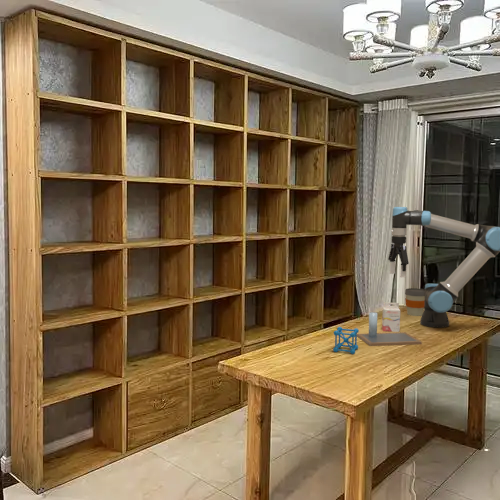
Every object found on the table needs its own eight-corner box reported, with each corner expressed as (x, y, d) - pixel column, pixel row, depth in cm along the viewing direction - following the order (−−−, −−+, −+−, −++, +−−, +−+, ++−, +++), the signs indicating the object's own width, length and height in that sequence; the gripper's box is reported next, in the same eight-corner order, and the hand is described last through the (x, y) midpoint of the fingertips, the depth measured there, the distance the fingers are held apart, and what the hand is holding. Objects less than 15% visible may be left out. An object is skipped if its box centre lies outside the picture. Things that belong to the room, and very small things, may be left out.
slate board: (405, 334, 272) (405, 332, 272) (421, 344, 255) (421, 341, 255) (356, 336, 269) (356, 333, 268) (370, 345, 251) (370, 343, 251)
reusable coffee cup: (405, 316, 315) (406, 291, 314) (403, 311, 328) (403, 287, 326) (427, 317, 313) (428, 292, 312) (424, 312, 326) (425, 288, 324)
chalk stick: (374, 335, 266) (375, 311, 264) (378, 337, 262) (378, 313, 260) (367, 335, 265) (367, 312, 264) (370, 337, 261) (371, 313, 260)
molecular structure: (332, 352, 240) (333, 330, 239) (337, 346, 249) (337, 325, 248) (354, 354, 236) (355, 333, 235) (358, 349, 246) (359, 328, 245)
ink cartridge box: (383, 331, 279) (384, 304, 277) (381, 329, 284) (382, 302, 282) (399, 332, 278) (400, 304, 276) (398, 329, 283) (399, 302, 281)
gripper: (383, 234, 293) (381, 272, 295) (402, 237, 269) (400, 279, 271) (395, 234, 294) (394, 272, 296) (416, 237, 270) (414, 278, 272)
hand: (397, 275), depth 283 cm, fingers open, 13 cm apart
